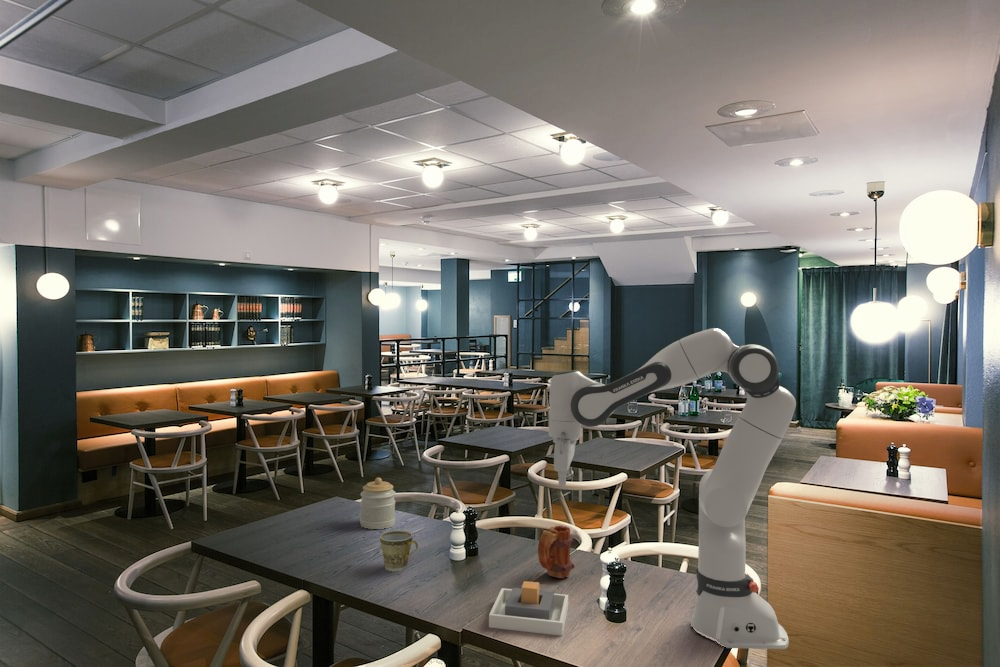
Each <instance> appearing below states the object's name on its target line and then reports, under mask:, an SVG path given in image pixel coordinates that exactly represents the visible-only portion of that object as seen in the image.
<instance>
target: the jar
mask: <svg viewBox="0 0 1000 667" xmlns="http://www.w3.org/2000/svg"><path fill="white" fill-rule="evenodd" d="M362 489H363V491H361V492H360V496H361V500H360V503H359V504H360V518H359V523H360V527H361V528H363V527H364V528H363V529H366V528H368V529H367V530H373V529H378V530H385V529H384V528H386V529H390V528H391V526H392V527H393V526H394V525H395V523H396V512H395V511H396V500H395V496H396V491H395V490H394V485H393V484H391V483H390V482H389V481H386V480H385V481H383V479H382V478H381V477H376V478H375V479H374V481H369V482H367V483H366V484H365V485H363V486H362Z"/></svg>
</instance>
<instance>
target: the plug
mask: <svg viewBox="0 0 1000 667" xmlns="http://www.w3.org/2000/svg"><path fill="white" fill-rule="evenodd" d="M521 589H522V592H521V603H529V604H539V590H540V582H538V581H526V580H525V581H523V583H522V585H521Z"/></svg>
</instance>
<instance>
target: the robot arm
mask: <svg viewBox="0 0 1000 667" xmlns="http://www.w3.org/2000/svg"><path fill="white" fill-rule="evenodd" d="M719 372H723V373H726V374H727V375H728V376H729V377H730V379H731V381H732V382H734V384H736V385H737V386H739V387H741V389H742V390H743V391H745V392H746V395H747V396H746V397H747V398H746V401H745V404H744V406H743V409H742V411H741V412H740V414H739V415H738V417H737V419H736V421H735V423H734V425H733V426H732V428H731V430H730V432H729V434H728V436H727V438H726V439H725V441H724V443H723V445H722V448H721V450H720V453H719V454H718V457H717V460H716V462H715V463H714V466H713V468H712V469H709V470H708V471H706V472H704V474H703V475H702V477H701V478H700V481H699V485H698V555H697V556H698V557H697V558H698V561H697V563H698V566H697V568H696V570H695V571H696V572H695V591H696V598H695V603H694V604H695V605H694V609H693V613H692V617H691V620H690V622H691V624H692V626H693V627H694V628H695V629H696V630H697V631H699V632H701V633H703V634H705V635H707V636H709V637H712V638H714V639H716V640H717V641H718V642H720V644H722V645H724V646H725V647H726V648H725V649H751V650H752V649H754V650H755V649H757V650H762V649H763V650H786V649H787V648H788V646H789V636H788V633H787V631H786V630H785V628H784V627H783V626H782V624H780V623H779V622H778V618H777V614H776V611H775V610H774V609H773V607H772V605H771V604H770V603H769V602H768V601H766V600H765V599H764V598H762V597H761V596H760V595H759V594H758V592H759V590H760V588H759V586H758V584H757V582H755V580H754V579H753V578H752V577H751V575H750V574H748V573H746V555H747V554H746V549H747V548H746V547H747V546H746V544H747V542H746V522H745V518H746V516H747V514H748V512H749V510H750V507H751V505H752V504H753V501H754V499H755V496H756V494H757V492H758V489H759V487H760V485H761V482H762V480H763V477H764V475H765V472H766V470H767V468H768V466H769V465H770V463H771V460H772V459H773V457H774V455H775V454H776V452H777V450H778V449H779V448H778V447H779V446H780V444H781V443H782V441H783V439H784V438H785V435H786V433H787V431H788V429H789V428H790V424H791V422H792V419H793V416H794V413H795V410H796V406H797V401H796V398H795V397H794V395H793V394H792V393H791V392H790V391H789V390H788V389H787V388H785V387H783V386H781V385H780V368H779V363H778V360H777V358H776V356H775V354H773V352H772V351H771V350H769V349H768V348H766V347H764V346H763V345H759V344H754V343H753V344H752V343H751V344H746V345H742V344H741V345H740V344H735V343H734V342H733V341H732V339H731V338H730V336H729V335H728V334H727V333H726V332H725V331H724V330H723V329H720V328H715V327H713V328H708V329H704V330H701V331H698V332H695V333H692V334H690V335H687V336H684V337H682V338H680V339H679V340H676V341H673V342H672V343H671V344H669V345H667V346H666V347H664V348H662V349H661V350H660V351H658V352H657V353H656V354H655V355H654V356H652V357H651V358H650V359H649V360H648V361H647V362H645V364H643V365H642V366H641V367H639V368H638V369H636V370H635V371H633V372H631V373H629V374H627V375H624V376H623V377H621V378H619V379H616V380H614V381H612V382H610V383H607V384H604V383H601V382H598V381H596V380H594V379H591V378H589V377H588V376H585V375H584V374H582V372H581V371H580V370H578V369H577V370H576V369H572V370H571V369H570V370H565V371H560V372H557V373H555V374H554V375H553V376H552V377H551V379H550V385H549V395H548V396H549V398H548V399H549V400H548V405H549V407H550V411H549V416H548V437H550V438H552V442H553V443H554V449H553V450H554V452H553V453H554V454H553V455H554V456H553V470H554V471H555V472H557V476H558V477H557V478H558V486H559V487H565V486H566V484H567V478H569V476H570V467H571V463H572V461H573V458H574V457H575V451H576V444H577V439H579V438H581V437H582V426H585V427H589V428H591V427H592V428H594V427H597V426H600V425H602V424H603V423H604V422H606V420H607V419H608V418H609V417H611V416H612V414H614V412H615V411H616V410H617V409H618V408H621V407H623V406H624V405H627V404H629V403H630V402H633V401H636V400H637V399H639V398H641V397H643V396H646V395H648V394H650V393H651V394H652V393H655V392H658V391H663V390H669V389H674V388H677V387H681V386H685V385H688V384H691V383H693V382H696V381H698V380H700V379H702V378H704V377H707V376H708V375H711V374H714V373H719Z"/></svg>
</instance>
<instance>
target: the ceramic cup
mask: <svg viewBox="0 0 1000 667" xmlns="http://www.w3.org/2000/svg"><path fill="white" fill-rule="evenodd" d="M379 542H380V547H381V550H382V556H383V564H384V568H385V571H387V570H388V572H391V571H392V572H393V573H394V572H395V573H396V572H403V571H405V570H407V567H408V561H409V557H410V556H411V555H412V554H413V553H415V552H416V551H417V550H418V548H419V545H418V543H417V541H416V540H413V533H412V532H410V531H408V530H403V529H401V530H400V529H397V530H396V529H395V530H388V531H385V532H383V533H381V534H380V535H379ZM412 544H414V545H415V549H414V550H413V551H411V549H412V548H411V547H412ZM410 551H411V552H410ZM392 572H391V573H392Z"/></svg>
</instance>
